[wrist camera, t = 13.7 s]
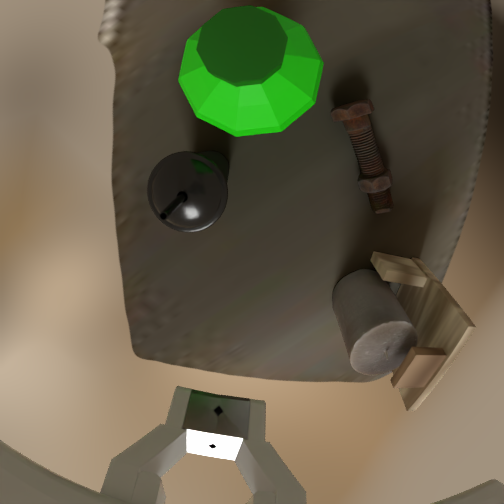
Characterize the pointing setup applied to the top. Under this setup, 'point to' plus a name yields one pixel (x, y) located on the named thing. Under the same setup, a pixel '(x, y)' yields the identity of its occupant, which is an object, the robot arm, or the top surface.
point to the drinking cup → (189, 190)
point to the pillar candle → (372, 323)
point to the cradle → (424, 326)
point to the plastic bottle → (250, 71)
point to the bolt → (366, 153)
